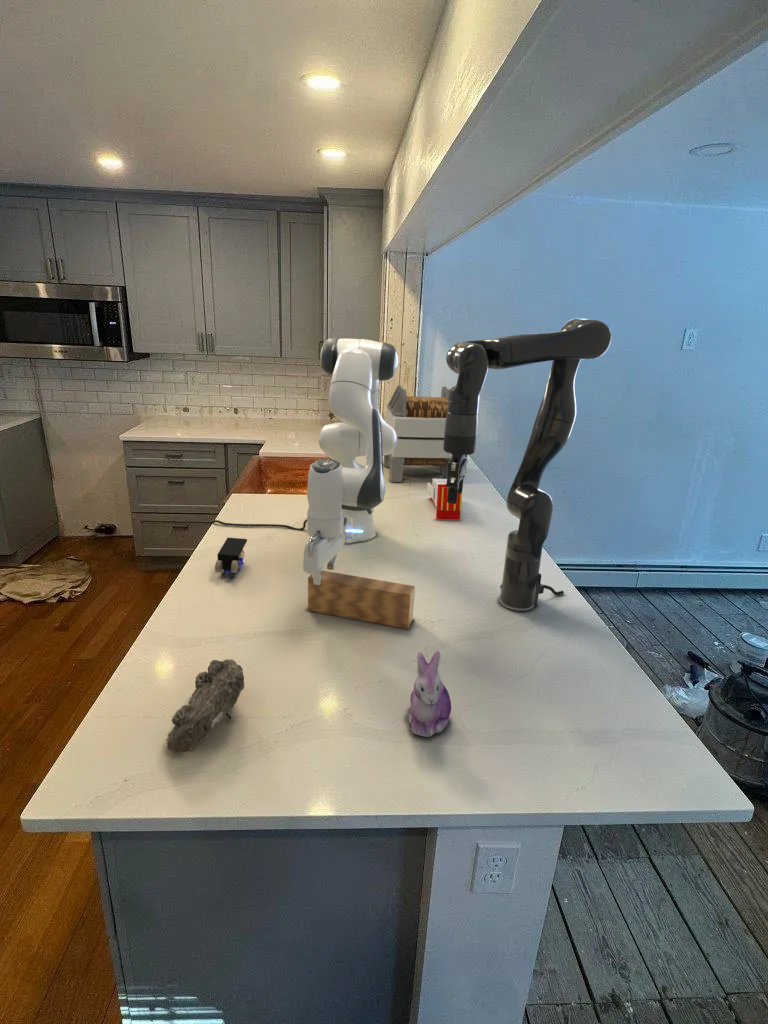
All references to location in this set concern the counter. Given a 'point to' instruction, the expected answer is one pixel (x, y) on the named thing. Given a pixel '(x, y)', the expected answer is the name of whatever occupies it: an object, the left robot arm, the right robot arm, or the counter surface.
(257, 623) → the counter surface
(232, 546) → the figurine character
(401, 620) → the bar
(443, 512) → the toy
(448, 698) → the figurine
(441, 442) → the transformer
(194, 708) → the fossil
